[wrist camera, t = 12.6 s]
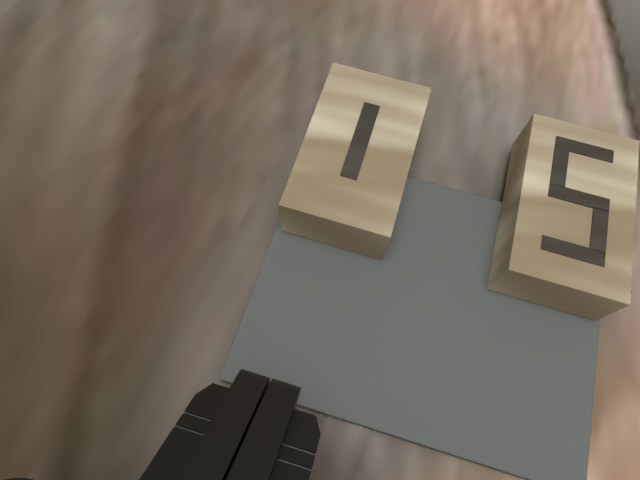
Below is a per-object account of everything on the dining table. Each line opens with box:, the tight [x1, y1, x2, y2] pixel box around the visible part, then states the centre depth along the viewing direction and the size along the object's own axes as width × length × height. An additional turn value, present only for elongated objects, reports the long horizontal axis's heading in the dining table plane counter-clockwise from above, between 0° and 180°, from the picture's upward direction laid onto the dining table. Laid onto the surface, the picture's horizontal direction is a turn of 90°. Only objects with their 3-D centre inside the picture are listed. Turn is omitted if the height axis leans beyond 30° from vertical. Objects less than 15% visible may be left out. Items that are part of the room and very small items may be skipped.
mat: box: [220, 176, 600, 480], centre depth 21 cm, size 14×11×1 cm
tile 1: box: [279, 63, 431, 260], centre depth 22 cm, size 2×4×8 cm
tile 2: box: [487, 114, 639, 321], centre depth 21 cm, size 2×4×8 cm
